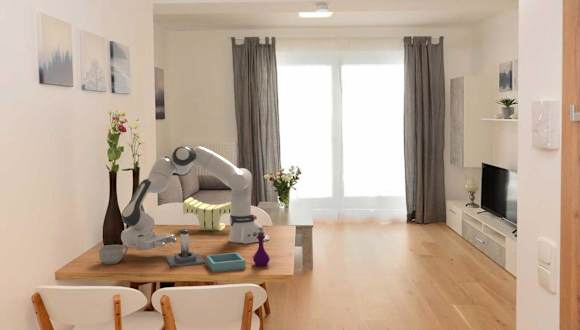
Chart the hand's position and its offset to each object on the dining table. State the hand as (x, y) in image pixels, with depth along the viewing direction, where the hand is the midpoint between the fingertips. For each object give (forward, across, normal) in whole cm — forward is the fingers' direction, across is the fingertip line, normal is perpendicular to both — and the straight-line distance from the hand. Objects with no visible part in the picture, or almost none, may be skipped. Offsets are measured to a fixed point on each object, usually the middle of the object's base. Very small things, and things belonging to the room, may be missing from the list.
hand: (170, 242), depth 286 cm
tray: (+31, -2, -8) cm, 32 cm away
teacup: (-20, +17, -8) cm, 27 cm away
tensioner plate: (+9, 0, -8) cm, 12 cm away
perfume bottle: (+45, -11, -9) cm, 47 cm away
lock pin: (+9, 0, -7) cm, 11 cm away
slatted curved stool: (-24, -65, -8) cm, 70 cm away
